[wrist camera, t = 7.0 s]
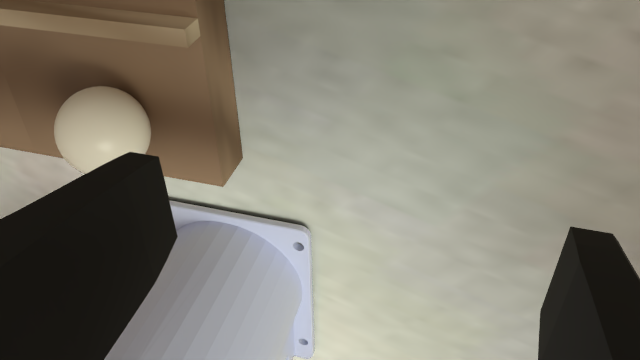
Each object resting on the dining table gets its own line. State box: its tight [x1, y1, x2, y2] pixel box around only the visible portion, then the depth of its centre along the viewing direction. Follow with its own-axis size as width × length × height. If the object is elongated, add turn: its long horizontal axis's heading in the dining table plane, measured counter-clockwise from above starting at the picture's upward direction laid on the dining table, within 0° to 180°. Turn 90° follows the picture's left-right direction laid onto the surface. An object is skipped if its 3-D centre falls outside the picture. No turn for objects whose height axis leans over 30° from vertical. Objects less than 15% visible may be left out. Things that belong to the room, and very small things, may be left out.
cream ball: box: [54, 86, 151, 174], centre depth 20 cm, size 3×3×3 cm
